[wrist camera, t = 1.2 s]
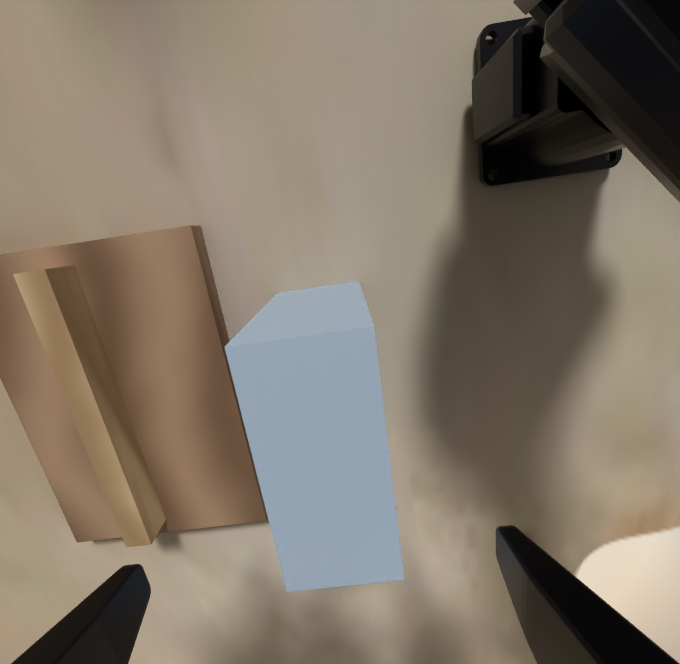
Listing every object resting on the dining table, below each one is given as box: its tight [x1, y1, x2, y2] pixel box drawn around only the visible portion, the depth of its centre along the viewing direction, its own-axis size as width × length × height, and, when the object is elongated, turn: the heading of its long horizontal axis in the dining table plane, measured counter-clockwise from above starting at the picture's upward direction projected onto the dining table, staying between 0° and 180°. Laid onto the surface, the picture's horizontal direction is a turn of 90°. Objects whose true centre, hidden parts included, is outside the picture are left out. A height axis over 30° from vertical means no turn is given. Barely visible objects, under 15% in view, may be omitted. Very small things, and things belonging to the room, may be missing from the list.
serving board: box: [0, 226, 267, 547], centre depth 19 cm, size 12×18×3 cm
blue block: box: [225, 281, 405, 592], centre depth 16 cm, size 4×10×9 cm, turn 8°
